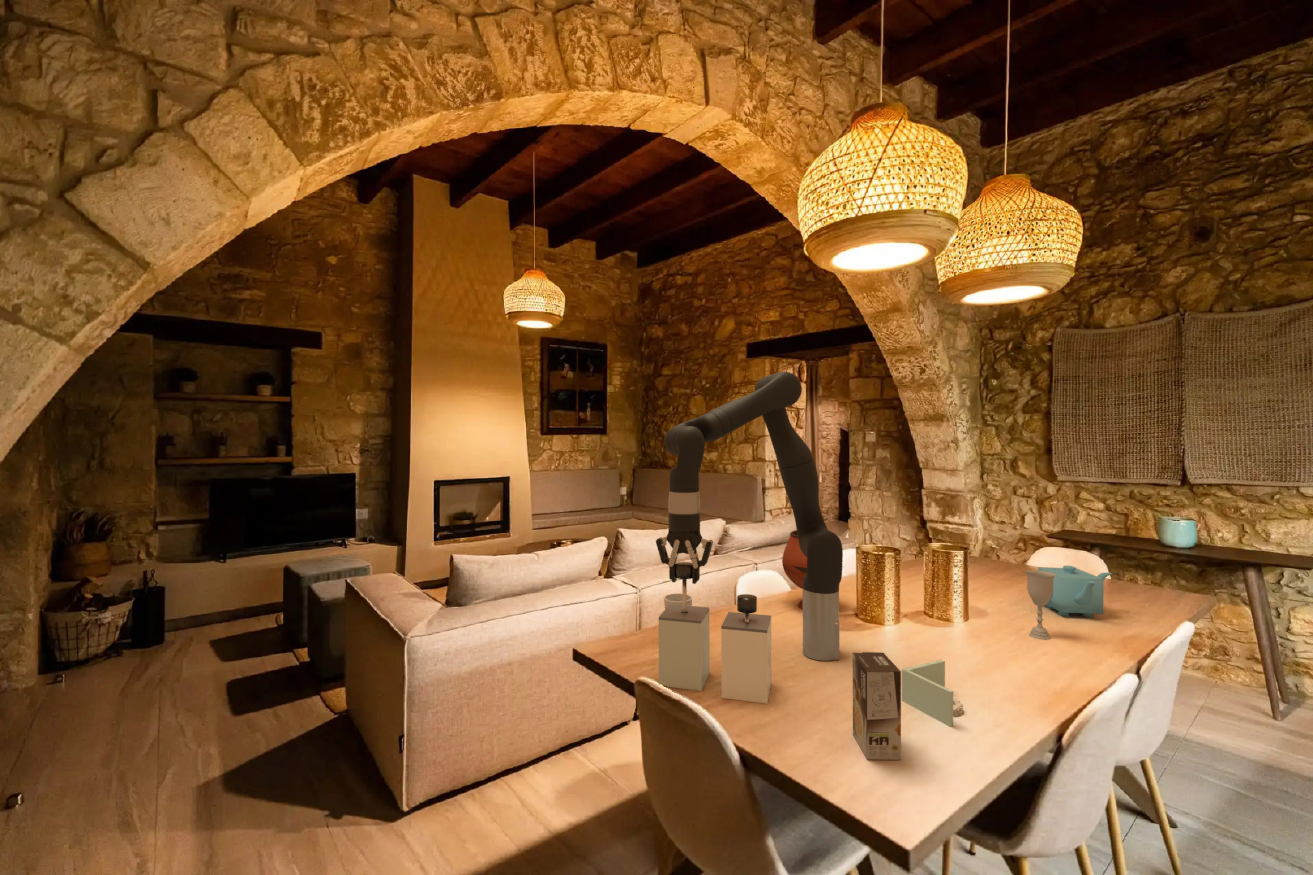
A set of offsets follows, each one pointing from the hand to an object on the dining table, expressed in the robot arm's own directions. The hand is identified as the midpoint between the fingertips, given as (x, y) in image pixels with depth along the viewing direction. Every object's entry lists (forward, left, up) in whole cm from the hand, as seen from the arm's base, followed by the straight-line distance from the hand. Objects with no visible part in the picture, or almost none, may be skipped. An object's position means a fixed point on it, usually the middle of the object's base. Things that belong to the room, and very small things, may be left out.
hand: (684, 581), depth 135 cm
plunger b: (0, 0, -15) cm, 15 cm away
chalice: (-91, -54, -23) cm, 108 cm away
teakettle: (-108, -80, -23) cm, 136 cm away
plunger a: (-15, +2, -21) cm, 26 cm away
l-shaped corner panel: (-57, -2, -24) cm, 62 cm away
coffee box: (-41, +18, -23) cm, 51 cm away
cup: (+8, -24, -23) cm, 34 cm away
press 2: (-15, +2, -23) cm, 28 cm away
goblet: (-28, -63, -23) cm, 73 cm away
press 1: (0, 0, -23) cm, 23 cm away
